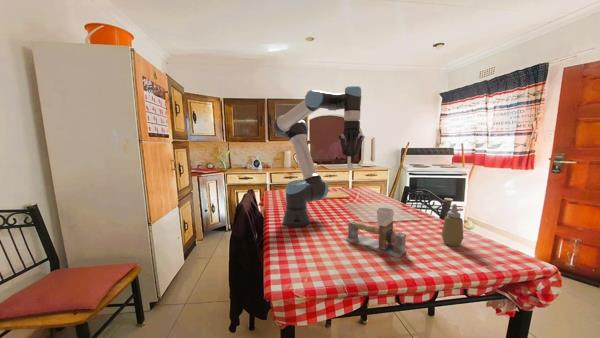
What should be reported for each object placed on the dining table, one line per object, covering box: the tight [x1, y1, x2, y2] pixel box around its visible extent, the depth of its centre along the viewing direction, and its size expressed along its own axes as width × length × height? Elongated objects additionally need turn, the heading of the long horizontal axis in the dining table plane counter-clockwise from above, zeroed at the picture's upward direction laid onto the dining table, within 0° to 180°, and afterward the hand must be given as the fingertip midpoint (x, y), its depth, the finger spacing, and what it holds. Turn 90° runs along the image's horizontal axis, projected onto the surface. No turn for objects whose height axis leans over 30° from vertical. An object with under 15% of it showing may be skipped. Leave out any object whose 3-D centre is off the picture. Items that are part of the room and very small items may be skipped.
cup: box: [376, 206, 395, 227], centre depth 111 cm, size 8×8×12 cm
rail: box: [345, 220, 407, 259], centre depth 98 cm, size 24×8×8 cm, turn 48°
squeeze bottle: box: [441, 203, 464, 247], centre depth 98 cm, size 8×8×18 cm
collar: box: [378, 220, 394, 250], centre depth 95 cm, size 2×8×10 cm, turn 138°
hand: (349, 169), depth 110 cm, fingers closed
